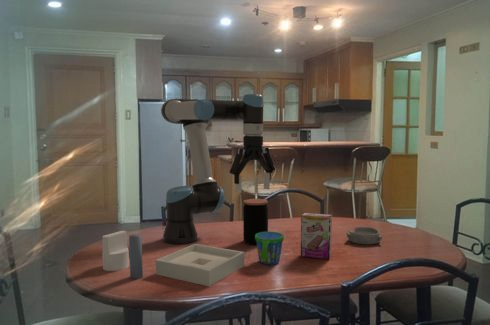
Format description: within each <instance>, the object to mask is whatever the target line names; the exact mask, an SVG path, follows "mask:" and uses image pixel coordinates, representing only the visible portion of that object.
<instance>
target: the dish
mask: <svg viewBox="0 0 490 325" xmlns="http://www.w3.org/2000/svg"><path fill="white" fill-rule="evenodd" d="M346 238H348V242H350V243H353V244H357V245H375V244H376V245H377V244H378V243H380V242H381V241H382V239H383V235H381V232H380V230H379V229H377V228H375V227H372V226H371V227H370V226H355V228H354V230H353V231H351V230H349V229H348V232H346Z"/></svg>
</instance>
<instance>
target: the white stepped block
mask: <svg viewBox="0 0 490 325" xmlns="http://www.w3.org/2000/svg"><path fill="white" fill-rule="evenodd" d="M101 236H102V238H101V239H102V251H101V253H102V255H101V256H102V269H103V270H104V271H107V272H118V271H122V270H125V269H128V268H130V249H129V248H128V231H125V230H120V231H116V232H113V233H109V234H105V235H101Z"/></svg>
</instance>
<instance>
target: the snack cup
mask: <svg viewBox="0 0 490 325" xmlns="http://www.w3.org/2000/svg"><path fill="white" fill-rule="evenodd" d="M284 237H285V235H284V234H283V233H282V232H277V231H268V232H260V233H257V234H256V235H255V240H256V242H257V245H256V250H257V256H258V261H259V263H262V264H264V265H267V266H268V265H271V266H272V265H276V264H279V262H280V260H281V255H282V247H283V241H284V239H285V238H284Z"/></svg>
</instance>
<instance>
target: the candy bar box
mask: <svg viewBox="0 0 490 325" xmlns="http://www.w3.org/2000/svg"><path fill="white" fill-rule="evenodd" d="M300 216H301V217H300V218H301V219H300V220H301V221H300V224H301V226H300V257H302V258H311V259H319V260H320V259H321V260H330V258H331V257H332V235H333V234H332V233H333V231H332V229H333V228H332V227H333V215H332V214H323V213H309V212H303V213H302V214H301V215H300Z"/></svg>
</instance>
